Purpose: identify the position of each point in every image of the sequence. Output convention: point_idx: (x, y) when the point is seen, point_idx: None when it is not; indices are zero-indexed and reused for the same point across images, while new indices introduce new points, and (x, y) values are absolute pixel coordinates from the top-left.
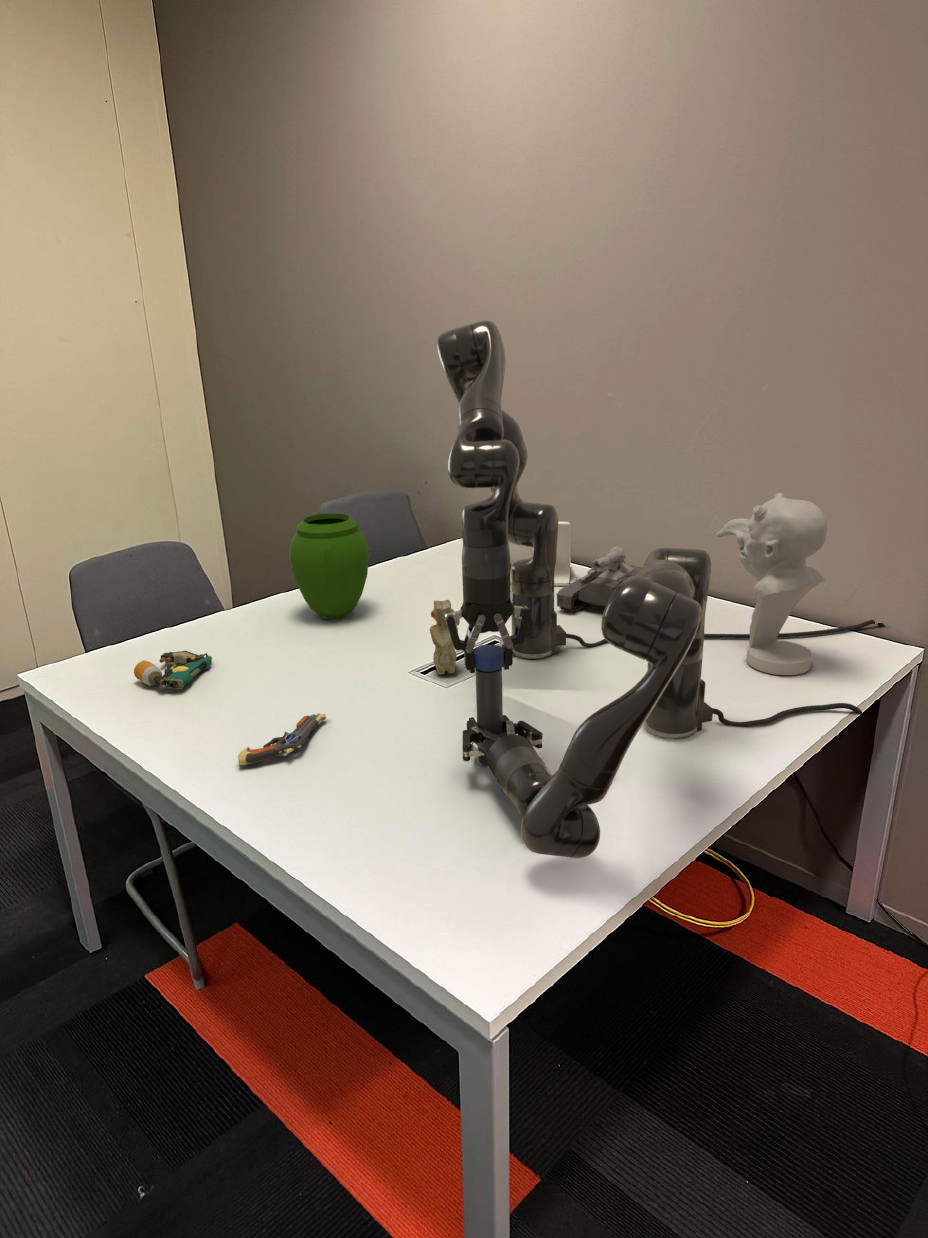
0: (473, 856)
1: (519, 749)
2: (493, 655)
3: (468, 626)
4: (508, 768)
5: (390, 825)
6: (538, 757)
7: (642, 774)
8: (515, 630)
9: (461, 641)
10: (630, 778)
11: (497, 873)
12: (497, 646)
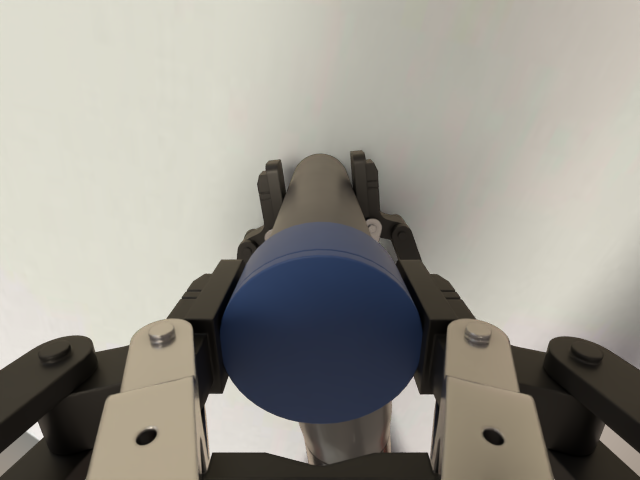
0: (246, 423)
1: (343, 430)
2: (336, 412)
3: (99, 454)
4: (309, 442)
5: (124, 344)
6: (377, 438)
7: (580, 292)
8: (601, 418)
9: (98, 417)
10: (552, 299)
11: (272, 453)
12: (397, 301)
